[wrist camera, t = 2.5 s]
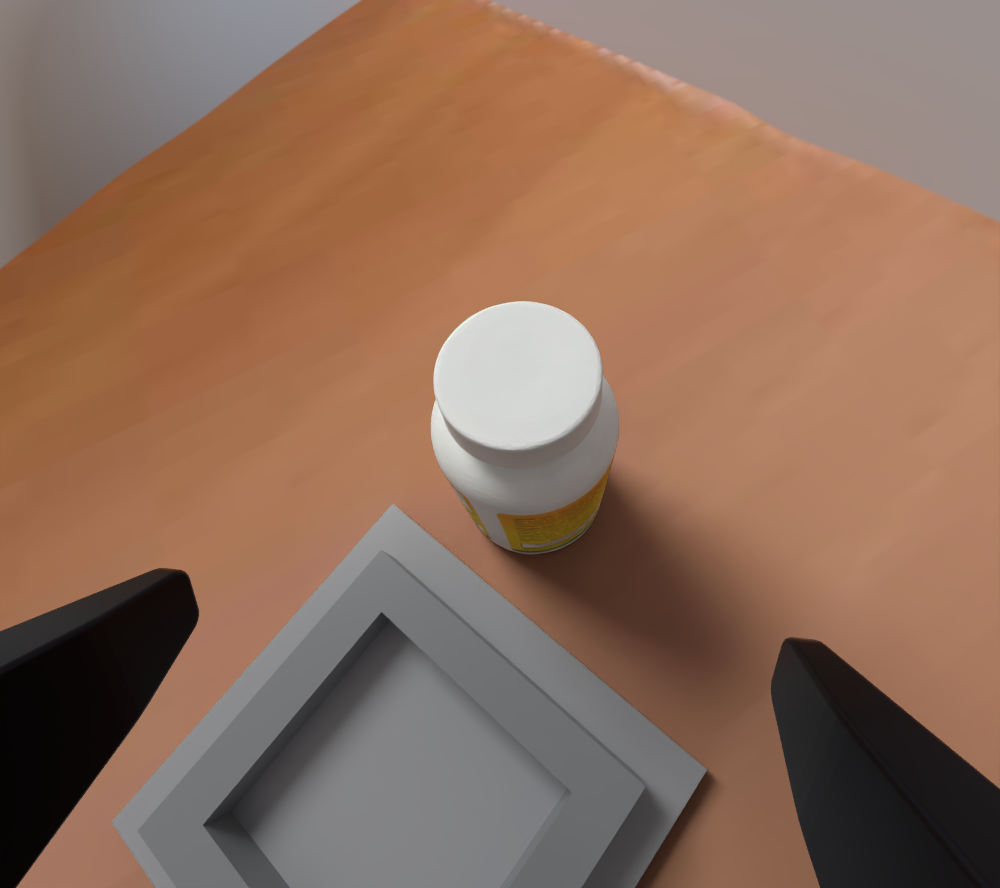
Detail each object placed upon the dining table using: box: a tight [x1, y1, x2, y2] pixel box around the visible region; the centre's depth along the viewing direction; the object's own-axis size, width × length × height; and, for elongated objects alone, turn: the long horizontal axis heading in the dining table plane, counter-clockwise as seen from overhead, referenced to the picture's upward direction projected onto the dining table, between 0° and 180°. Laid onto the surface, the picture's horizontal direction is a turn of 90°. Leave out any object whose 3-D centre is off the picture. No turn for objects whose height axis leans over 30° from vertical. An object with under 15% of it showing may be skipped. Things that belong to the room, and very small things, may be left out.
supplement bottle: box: [431, 301, 619, 554], centre depth 16 cm, size 5×5×10 cm
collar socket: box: [112, 504, 707, 888], centre depth 16 cm, size 14×14×2 cm
